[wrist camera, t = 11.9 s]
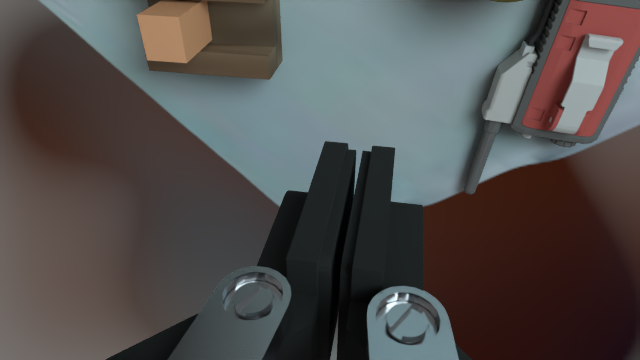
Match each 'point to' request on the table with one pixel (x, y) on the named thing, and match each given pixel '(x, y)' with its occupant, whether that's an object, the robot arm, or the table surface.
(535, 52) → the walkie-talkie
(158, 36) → the slider
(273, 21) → the brown wooden tray
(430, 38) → the table surface
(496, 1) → the apple
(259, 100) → the table surface
